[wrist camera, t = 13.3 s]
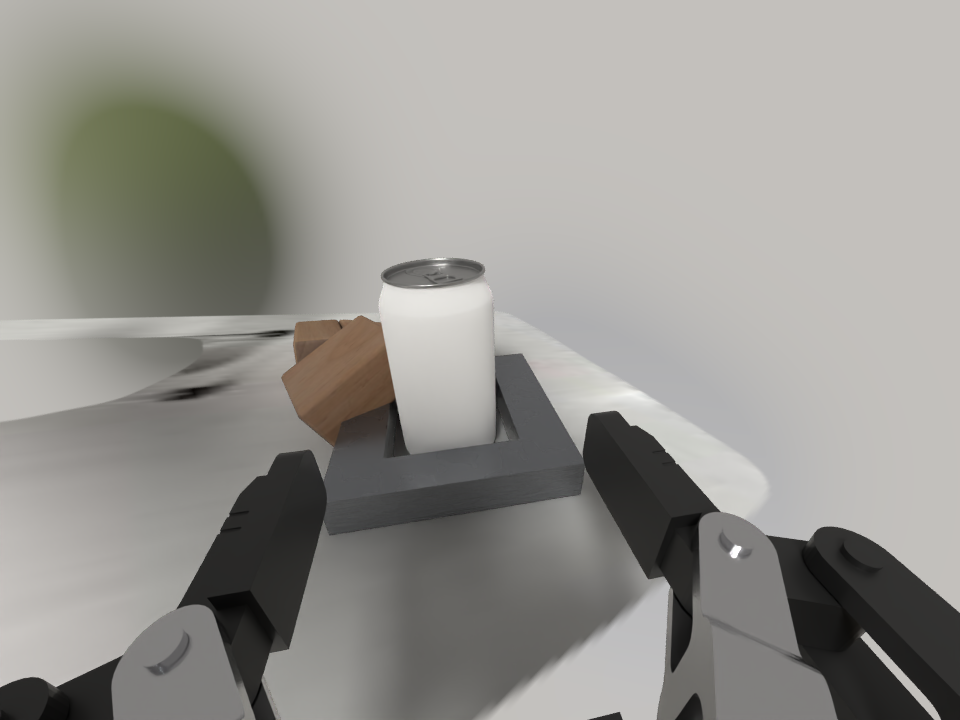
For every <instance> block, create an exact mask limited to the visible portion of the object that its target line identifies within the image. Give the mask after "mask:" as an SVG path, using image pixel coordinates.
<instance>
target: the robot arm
mask: <svg viewBox="0 0 960 720" xmlns="http://www.w3.org/2000/svg"><path fill="white" fill-rule="evenodd" d="M583 460H584V464H585V468H586V470H587V472H588V474H589V476H590V478H591V479H592V481H593V483H594V485H595V486H596V488H597V490H598V492H599V493H600V495H601V497H602V499H603V501H604V502H605V504H606V506H607V508H608V509H609V511H610V513H611V515H612V516H613V518H614V520H615V522H616V523H617V525H618V527H619V529H620V530H621V532H622V534H623V536H624V538H625V539H626V541H627V543H628V545H629V546H630V548H631V550H632V552H633V553H634V555H635V557H636V559H637V560H638V562H639V564H640V566H641V568H642V569H643V571H644V573H645V575H646V576H647V578H648V579H652V578H657V577H662V576H665V578H666V580H667V581H668V583H669V585H670V586H671V587H670V590H669V595H668V615H667V636H666V657H665V675H664V682H663V688H662V692H661V696H660V701H659V707H658V713H657V720H837V719H838V720H934V719H933V718H932V717H931V716H930V715H929V714H928V712H927V711H926V710H925V709H924V708H923V707H922V706H921V705H920V704H919V702H918V701H917V700H916V699H915V698H914V697H913V696H912V695H911V693H910V692H909V691H908V690H907V689H906V688H905V687H904V686H903V685H902V683H901V682H900V681H899V680H898V679H897V678H896V677H895V676H894V674H893V673H892V672H891V671H890V670H889V669H888V668H887V667H886V666H885V664H884V663H883V662H882V661H881V660H880V659H879V658H878V657H877V656H876V654H875V653H874V652H873V651H872V650H871V649H870V648H869V647H868V645H867V644H866V643H865V642H864V641H863V640H862V639H861V638H860V637H861V636H862V635H863V634H864V633H865V632H867V633H868V634H869V635H870V636H871V638H872V639H873V640H874V641H875V642H876V643H877V644H878V645H879V646H880V647H881V648H882V650H883V651H884V652H885V653H886V654H887V655H888V656H889V657H890V658H891V659H892V660H893V662H894V663H895V664H896V665H897V666H898V667H899V668H900V669H901V670H902V671H903V672H904V673H905V675H907V677H908V678H909V679H910V680H911V681H912V682H913V683H914V684H915V685H916V686H917V688H918V689H919V690H920V691H921V692H922V693H923V694H924V695H925V696H926V697H927V699H928V700H929V701H930V702H931V704H932V705H933V706H934V707H935V709H936V711H937V712H938V714H939V716H940V718H941V720H960V613H959V612H958V611H957V610H956V609H954V608H953V607H952V606H951V605H950V604H949V603H947V602H946V601H945V600H944V599H943V598H942V597H940V596H939V595H938V594H936V592H935V591H933V590H932V589H931V588H930V587H929V586H928V585H926V584H925V583H924V582H923V581H922V580H920V579H919V578H918V577H917V576H916V575H915V574H913V573H912V572H911V571H910V570H909V569H908V568H906V567H905V566H904V565H903V564H902V563H901V562H899V561H898V560H897V559H896V558H895V557H894V556H892V555H891V554H890V553H889V552H887V551H886V550H885V549H884V548H882V547H881V546H879V545H878V544H876V543H874V542H873V541H871V540H869V539H868V538H866V537H864V536H862V535H859V534H857V533H855V532H852V531H849V530H846V529H843V528H838V527H822V528H820V529H818V530H817V531H816V532H815V533H814V535H813V536H812V537H811V539H810V540H809V541H803V540H796V539H789V538H781V537H774V536H768V535H765V534H764V533H762V532H761V531H760V530H759V529H758V528H757V527H755V526H754V525H753V524H751V523H750V522H748V521H746V520H744V519H742V518H740V517H738V516H735V515H732V514H729V513H723V512H720V511H719V509H718V508H717V507H716V506H715V505H714V504H713V503H712V502H711V501H710V500H709V498H708V497H707V496H706V495H705V494H704V493H703V492H702V491H701V489H700V488H699V487H698V486H697V485H696V484H695V483H694V482H693V481H692V479H691V478H690V477H689V476H688V475H687V474H686V473H685V472H684V470H683V469H682V468H681V467H680V466H679V465H678V464H676V463H675V460H674V459H673V458H672V457H671V456H670V455H669V454H668V453H666V452H665V449H664V448H663V447H662V446H661V445H660V443H659V442H658V441H657V440H656V439H655V438H654V437H653V436H652V435H650V434H649V433H647V432H646V431H644V430H643V429H641V428H639V427H638V426H630V425H629V424H628V423H627V422H626V420H625V419H624V418H623V417H622V416H621V414H620V413H619V412H617V411H609V412H602V413H594V414H590V416H589V418H588V423H587V429H586V435H585V441H584V448H583ZM326 506H327V493H326V488H325V485H324V482H323V480H322V477H321V474H320V471H319V469H318V466H317V463H316V460H315V458H314V455H313V453H312V452H311V451H310V450H304V451H297V452H289V453H281V454H279V455H277V457H276V458H275V460H274V462H273V464H272V466H271V468H270V470H269V472H268V474H267V475H266V476H259V477H257V478H256V479H255V480H254V481H253V482H252V483H251V484H250V485H249V486H248V487H247V488H246V489H245V490H244V491H243V492H242V493H241V494H240V495H239V497H238V499H237V500H236V502H235V504H234V506H233V508H232V509H231V511H230V513H229V514H230V516H229V517H227V519H226V520H225V522H224V524H223V526H222V528H221V530H220V531H221V532H220V534H218V535H217V537H216V539H215V541H214V542H213V544H212V546H211V548H210V550H209V552H208V553H207V555H206V557H205V559H204V561H203V563H202V564H201V566H200V568H199V570H198V572H197V573H196V575H195V577H194V579H193V581H192V583H191V584H190V586H189V588H188V590H187V592H186V594H185V595H184V597H183V599H182V601H181V602H180V604H179V606H178V607H177V609H176V610H174V611H172V612H170V613H168V614H166V615H165V616H163V617H161V618H160V619H158V620H157V621H156V622H154V623H153V624H152V625H150V626H149V627H148V628H147V629H146V630H145V631H143V632H142V633H141V634H140V635H139V636H138V637H137V638H136V640H135V641H134V642H133V643H132V644H131V645H130V647H129V648H128V649H127V651H126V652H125V654H124V655H122V656H120V657H119V658H117V659H114V660H112V661H110V662H108V663H106V664H104V665H102V666H100V667H98V668H96V669H93V670H91V671H89V672H87V673H85V674H83V675H81V676H79V677H77V678H74V679H72V680H70V681H68V682H66V683H64V684H62V685H60V686H58V687H54V686H53V685H51V684H50V683H48V682H46V681H45V680H43V679H40V678H36V677H30V678H24V679H20V680H17V681H14V682H11V683H9V684H7V685H4V686H2V687H0V720H281V719H280V716H279V714H278V711H277V709H276V706H275V703H274V701H273V698H272V695H271V693H270V690H269V688H268V685H267V682H266V680H265V678H264V676H263V673H264V670H265V666H266V663H267V660H268V656H269V653H272V652H277V651H282V650H287V649H289V647H290V643H291V639H292V636H293V632H294V628H295V624H296V621H297V617H298V613H299V609H300V606H301V602H302V598H303V594H304V591H305V587H306V583H307V579H308V576H309V572H310V568H311V564H312V561H313V557H314V553H315V549H316V546H317V542H318V538H319V534H320V531H321V527H322V523H323V520H324V516H325V512H326ZM590 720H622V717H621V714H620V712H617V713H613V714H610V715H605V716H602V717H597V718H594V719H590Z"/></svg>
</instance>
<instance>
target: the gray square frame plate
mask: <svg viewBox="0 0 960 720" xmlns="http://www.w3.org/2000/svg"><path fill="white" fill-rule="evenodd" d="M495 395H496V404H497V407H498V409H499V412H500V415H501V418H502V421H503V424H504V427H505V430H506V433H507V436H508V439H509V441H506V442H499V443H491V444H484V445H477V446H470V447H463V448H455V449H448V450H441V451H434V452H427V453H420V454H412V455H405V456H398V457H393V452H394V440H395V428H396V416H397V409H398V407H397V402H396V400H395V401H394V402H392V403H391V404H390V403H388V404H386V405H383V406H381V407H378V408H376V409H373V410H371V411H368V412H366V413H363V414H361V415H358V416H356V417H353V418H351V419H348V420H346V421H343V422H342V423H341V426H340V429H339V433H338V436H337V439H336V443H335V446H334V449H333V453H332V456H331V459H330V463H329V466H328V469H327V473H326V476H325V479H324V485H325V488H326V493H327V506H326V512H325V516H324V523H325V525H326V528H327V530H328V533H329V535H335V534H341V533H347V532H353V531H359V530H365V529H371V528H378V527H384V526H390V525H396V524H402V523H408V522H414V521H420V520H427V519H433V518H439V517H445V516H451V515H457V514H463V513H469V512H475V511H482V510H488V509H494V508H500V507H506V506H512V505H518V504H524V503H531V502H537V501H543V500H549V499H555V498H561V497H567V496H573V495H579V494H581V488H582V482H583V475H584V469H585V464H584V460H583V458H582V456H581V455H580V453H579V451H578V449H577V448H576V446H575V444H574V442H573V441H572V439H571V437H570V436H569V434H568V432H567V430H566V429H565V427H564V425H563V423H562V422H561V420H560V418H559V417H558V415H557V413H556V411H555V410H554V408H553V406H552V404H551V403H550V401H549V399H548V398H547V396H546V394H545V392H544V391H543V389H542V387H541V385H540V384H539V382H538V380H537V379H536V377H535V375H534V373H533V372H532V370H531V368H530V366H529V365H528V363H527V361H526V359H525V358H524V356H523V354H513V355H504V356H495Z"/></svg>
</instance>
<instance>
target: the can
mask: <svg viewBox="0 0 960 720" xmlns="http://www.w3.org/2000/svg"><path fill="white" fill-rule="evenodd" d="M484 272H485V267H484V266H483V265H482V264H481V263H479V262H476V261H472V260H467V259H458V258H434V259H423V260H416V261H410V262H405V263H401V264H398V265H395V266H392V267H390V268H388V269H386V270H384V271H383V272H382V274H381V279H382V280H383V283H384V284H383V289H382V292H381V295H380V299H379V312H380V318H381V324H382V329H383V335H384V340H385V345H386V350H387V356H388V361H389V366H390V371H391V376H392V381H393V387H394V392H395V397H396V402H397V407H398V412H399V417H400V422H401V427H402V432H403V437H404V441H405V445H406V448H407V450H408V452H409V453H410V454H411V455H412V454H420V453H427V452H434V451H441V450H448V449H455V448H463V447H470V446H477V445H484V444H491V443H494V440H495V436H496V395H495V345H494V308H493V295H492V292H491V290H490V287H489V286H488V284H487V282H486V280H485V278H484Z"/></svg>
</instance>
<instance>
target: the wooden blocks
mask: <svg viewBox="0 0 960 720" xmlns="http://www.w3.org/2000/svg"><path fill="white" fill-rule="evenodd" d="M293 346H294V353H295V359H296V365H295V366H293V367H292V368H291V369H289V370H288V371H287V372H286V373H284V374H283V376H282V377H281V378H282V381H283V383H284V385H285V387H286V390H287V392H288V394H289V396H290V399H291V401H292V403H293V405H294V408H295V410H296V412H297V414H298V417H299V418H300V419H301V420H302V421H303V422H305V423H306V424H307V425H308V426H309V427H310V428H312V429H313V430H314V431H315V432H316V433H318V434H319V435H320V436H321V437H322V438H324V439H325V440H326V441H327V442H328V443H329V444H331V445H332V446H333V447H334V446H335V443H336V439H337V436H338V433H339V429H340V426H341V423H342V422H343V421H346V420H348V419H351V418H353V417H356V416H358V415H361V414H363V413H366V412H368V411H371V410H373V409H376V408H378V407H381V406H383V405H386V404H388V403H390V404H391V403H392V402H394V401H395V400H396V397H395V392H394V387H393V381H392V376H391V371H390V366H389V361H388V356H387V350H386V345H385V340H384V335H383V329H382V324H381V323H380V322H373V321H371V320H370V319H368V318H366V317H364V316H362V315H361V316H358V317H357V318H355V319H354V320H340V321H339V322H338V321H337V320H321V321H306V322H298V323H296V326H295V333H294V342H293Z"/></svg>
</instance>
